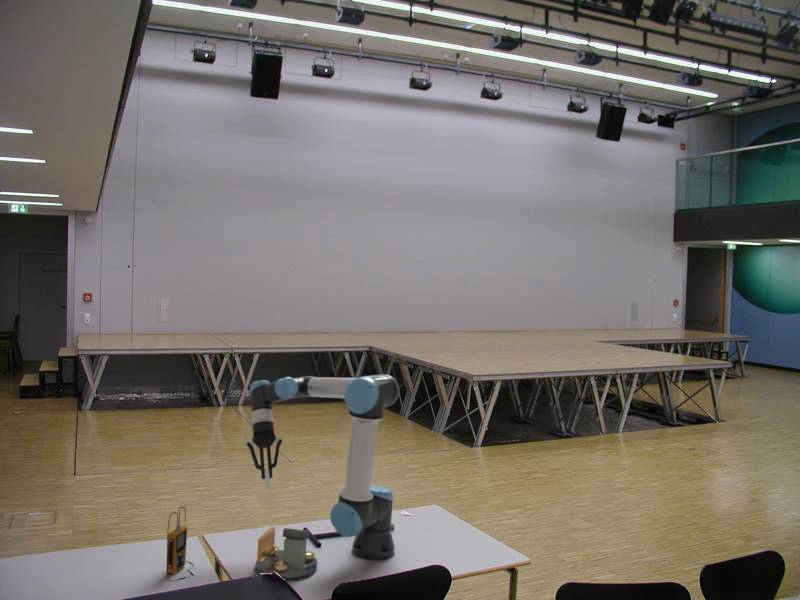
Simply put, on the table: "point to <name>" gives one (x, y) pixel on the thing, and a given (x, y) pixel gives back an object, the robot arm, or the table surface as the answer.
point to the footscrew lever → (267, 545)
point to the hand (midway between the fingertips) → (267, 488)
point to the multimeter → (176, 547)
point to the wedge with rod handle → (295, 547)
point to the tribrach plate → (291, 572)
